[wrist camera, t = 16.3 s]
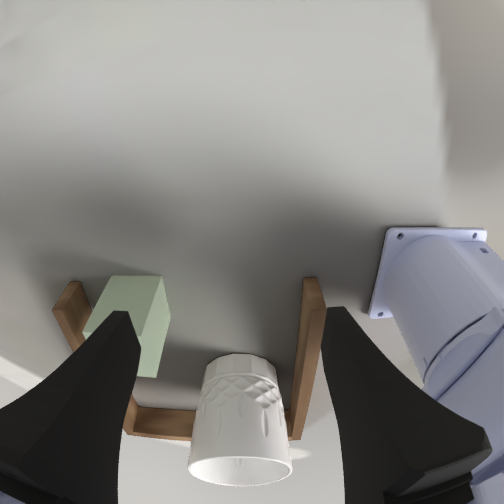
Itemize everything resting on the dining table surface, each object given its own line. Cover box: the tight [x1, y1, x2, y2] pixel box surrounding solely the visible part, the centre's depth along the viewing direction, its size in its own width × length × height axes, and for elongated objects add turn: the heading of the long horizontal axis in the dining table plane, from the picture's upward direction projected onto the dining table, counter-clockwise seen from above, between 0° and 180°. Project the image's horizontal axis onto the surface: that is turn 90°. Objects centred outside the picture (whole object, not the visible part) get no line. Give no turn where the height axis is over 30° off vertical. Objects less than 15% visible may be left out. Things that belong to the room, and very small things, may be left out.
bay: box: [52, 277, 327, 441], centre depth 26 cm, size 19×19×4 cm
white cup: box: [187, 354, 292, 486], centre depth 24 cm, size 8×8×10 cm
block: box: [82, 275, 171, 378], centre depth 21 cm, size 4×4×6 cm
